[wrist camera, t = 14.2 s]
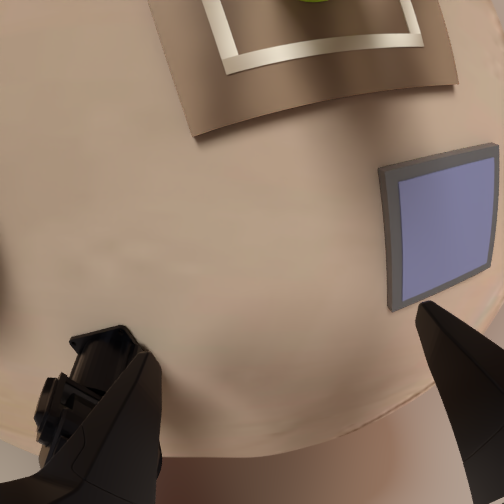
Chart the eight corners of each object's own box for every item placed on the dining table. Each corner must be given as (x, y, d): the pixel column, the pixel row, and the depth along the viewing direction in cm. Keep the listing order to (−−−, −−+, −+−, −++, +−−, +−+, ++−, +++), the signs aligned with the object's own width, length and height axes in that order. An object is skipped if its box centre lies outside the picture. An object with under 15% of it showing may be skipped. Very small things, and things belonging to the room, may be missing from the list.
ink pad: (387, 305, 26) (392, 313, 25) (377, 168, 20) (385, 172, 19) (484, 262, 26) (491, 267, 25) (491, 142, 20) (500, 145, 19)
